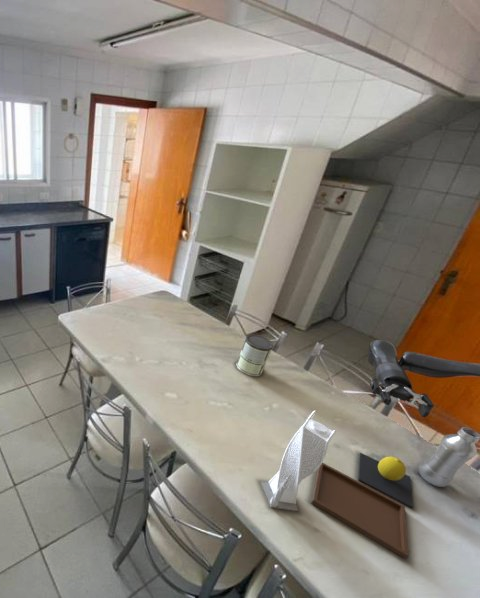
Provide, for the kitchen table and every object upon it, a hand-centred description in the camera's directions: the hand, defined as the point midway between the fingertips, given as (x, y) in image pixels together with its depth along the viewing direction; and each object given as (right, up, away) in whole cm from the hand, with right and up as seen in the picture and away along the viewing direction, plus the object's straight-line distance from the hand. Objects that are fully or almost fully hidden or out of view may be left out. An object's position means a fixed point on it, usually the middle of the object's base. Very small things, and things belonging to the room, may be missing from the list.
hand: (406, 408), depth 97 cm
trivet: (-7, -21, 0) cm, 22 cm away
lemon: (-7, -20, 0) cm, 22 cm away
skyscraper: (-42, -22, -6) cm, 47 cm away
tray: (-22, -24, -8) cm, 33 cm away
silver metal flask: (+8, -22, +1) cm, 23 cm away
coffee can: (-25, +3, +43) cm, 49 cm away
